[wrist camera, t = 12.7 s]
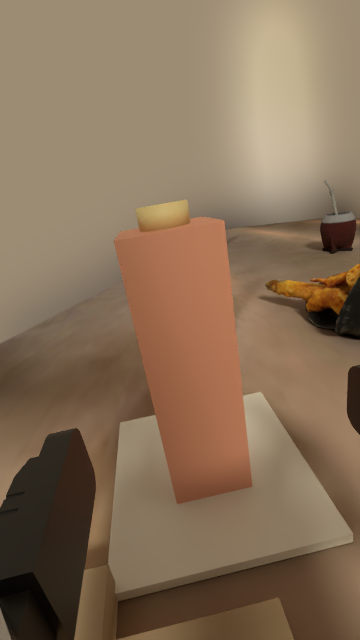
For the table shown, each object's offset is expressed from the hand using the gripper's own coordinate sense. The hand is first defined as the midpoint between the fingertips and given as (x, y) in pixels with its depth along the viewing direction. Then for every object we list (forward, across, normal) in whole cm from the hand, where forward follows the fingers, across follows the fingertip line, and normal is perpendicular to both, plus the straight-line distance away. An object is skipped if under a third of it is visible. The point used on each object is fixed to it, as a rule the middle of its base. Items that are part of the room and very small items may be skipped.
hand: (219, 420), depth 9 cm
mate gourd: (+59, -41, +11) cm, 72 cm away
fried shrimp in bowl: (+25, -19, +11) cm, 33 cm away
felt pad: (+8, 0, +10) cm, 13 cm away
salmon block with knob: (+8, 0, +10) cm, 13 cm away
